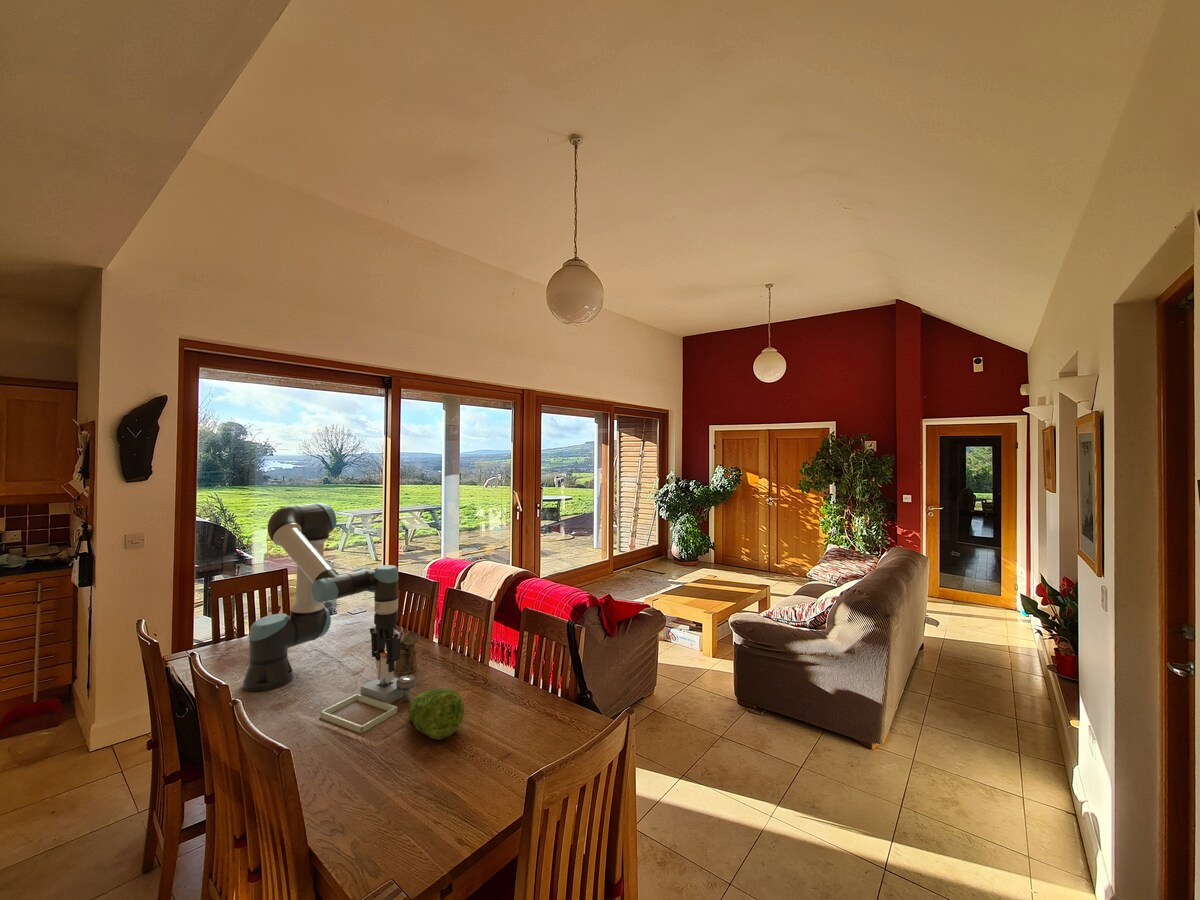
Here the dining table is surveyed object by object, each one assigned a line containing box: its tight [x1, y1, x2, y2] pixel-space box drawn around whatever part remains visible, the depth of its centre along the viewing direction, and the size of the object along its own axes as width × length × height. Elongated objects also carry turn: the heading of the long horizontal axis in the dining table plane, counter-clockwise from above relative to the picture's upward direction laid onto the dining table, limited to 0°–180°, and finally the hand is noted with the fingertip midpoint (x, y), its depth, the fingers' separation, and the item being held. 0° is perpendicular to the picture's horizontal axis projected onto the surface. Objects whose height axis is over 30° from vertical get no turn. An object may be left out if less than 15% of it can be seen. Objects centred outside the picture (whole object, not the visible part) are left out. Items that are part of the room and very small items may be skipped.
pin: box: [380, 649, 391, 688], centre depth 169 cm, size 4×4×15 cm
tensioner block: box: [360, 677, 403, 705], centre depth 169 cm, size 12×10×5 cm
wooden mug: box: [394, 631, 420, 676], centre depth 188 cm, size 9×14×18 cm, turn 36°
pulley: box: [396, 674, 418, 703], centre depth 166 cm, size 6×6×8 cm
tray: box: [319, 693, 398, 738], centre depth 157 cm, size 19×13×3 cm
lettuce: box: [408, 687, 465, 741], centre depth 152 cm, size 14×23×13 cm, turn 43°
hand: (385, 679), depth 169 cm, fingers closed on pin, 3 cm apart
